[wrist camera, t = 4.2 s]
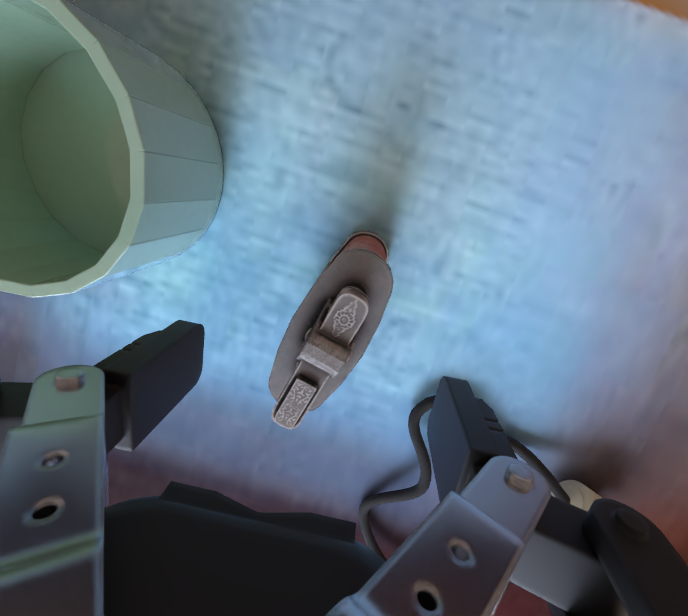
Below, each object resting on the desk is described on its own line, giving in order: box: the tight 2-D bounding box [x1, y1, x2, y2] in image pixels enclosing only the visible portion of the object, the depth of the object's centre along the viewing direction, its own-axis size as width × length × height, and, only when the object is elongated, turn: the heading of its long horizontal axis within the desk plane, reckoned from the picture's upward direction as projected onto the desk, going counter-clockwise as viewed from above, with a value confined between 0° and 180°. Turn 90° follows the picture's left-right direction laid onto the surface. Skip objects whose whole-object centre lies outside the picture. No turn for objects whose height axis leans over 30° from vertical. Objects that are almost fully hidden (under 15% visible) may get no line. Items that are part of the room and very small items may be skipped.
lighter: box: [269, 230, 393, 429], centre depth 18 cm, size 8×3×10 cm, turn 151°
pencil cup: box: [0, 0, 223, 298], centre depth 18 cm, size 12×12×8 cm
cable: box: [359, 395, 602, 562], centre depth 25 cm, size 16×16×4 cm
